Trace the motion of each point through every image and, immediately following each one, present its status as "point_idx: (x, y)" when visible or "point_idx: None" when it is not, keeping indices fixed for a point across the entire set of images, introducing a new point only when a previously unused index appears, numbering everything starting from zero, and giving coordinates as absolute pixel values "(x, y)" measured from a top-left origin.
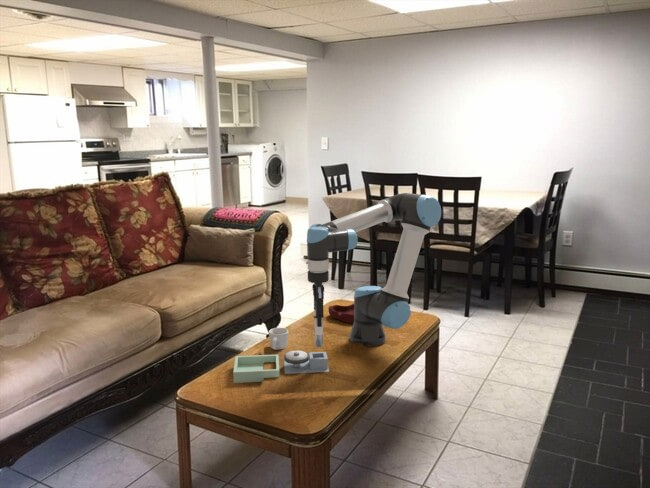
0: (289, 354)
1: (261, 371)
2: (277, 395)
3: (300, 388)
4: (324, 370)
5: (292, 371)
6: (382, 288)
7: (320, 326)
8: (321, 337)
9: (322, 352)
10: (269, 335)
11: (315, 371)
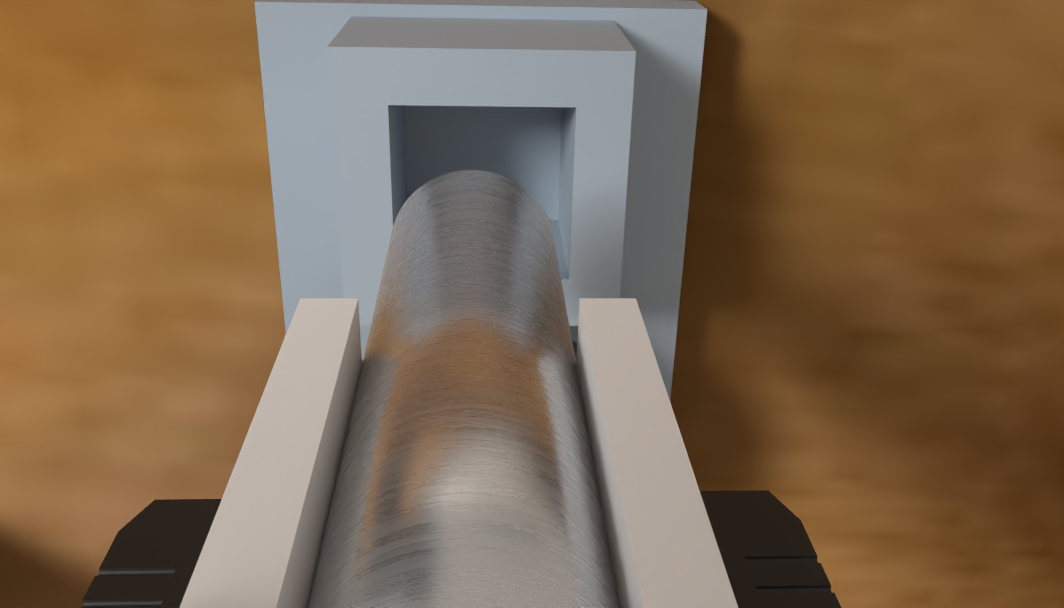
0: None
1: None
2: (1021, 569)
3: (948, 369)
4: (656, 74)
5: None
6: None
7: (771, 527)
8: (554, 286)
9: (358, 111)
10: None
11: (667, 200)
